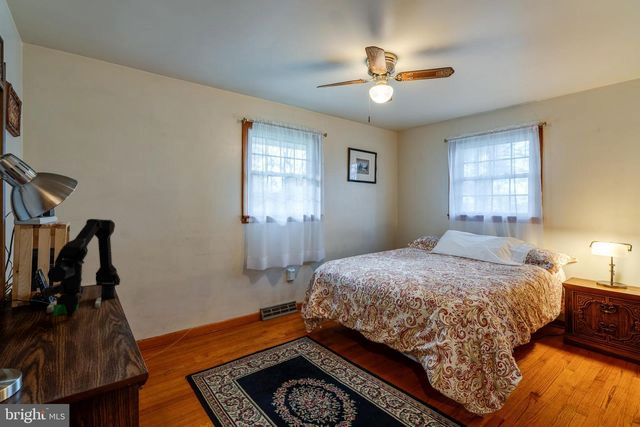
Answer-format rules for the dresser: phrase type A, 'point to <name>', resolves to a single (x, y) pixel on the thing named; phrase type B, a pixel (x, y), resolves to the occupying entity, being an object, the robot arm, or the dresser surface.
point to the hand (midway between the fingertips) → (69, 316)
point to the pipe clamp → (60, 310)
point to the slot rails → (51, 306)
